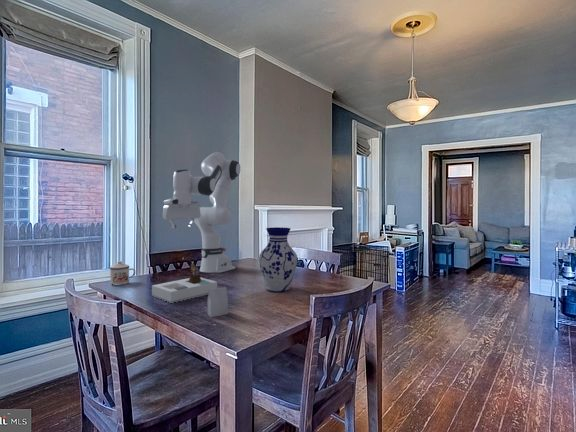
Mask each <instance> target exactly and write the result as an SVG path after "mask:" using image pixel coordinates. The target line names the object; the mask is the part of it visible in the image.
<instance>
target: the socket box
mask: <svg viewBox="0 0 576 432" xmlns="http://www.w3.org/2000/svg"><path fill="white" fill-rule="evenodd" d="M200 278H201V282H200V283H197V284H192V283H189V279H190V278H189V277H188V278H183V279H179V280H173V281H168V282H163V283H158V284H153V285H151V297H152V296H154V297H153V298H155V297H156V298H155V299H157V298H159V299H158V300H160V299H162V300H161V301H163V300H164V301H163V302H165V301H167V302H166V303H168V302H169V303H168V304H170V303H172V304H175V303H174V302H176V303H179V302H178V301H180V302H184V301H186V300H187V299H188V300H190V299H191V298H192V299H194V298H195V297H196V298H199V297H203V296H207V295H208V294H209V289H216V288H218V281H216V280H213V279H208V278H205V277H200ZM183 300H184V301H183Z"/></svg>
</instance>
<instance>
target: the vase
mask: <svg viewBox="0 0 576 432" xmlns="http://www.w3.org/2000/svg"><path fill="white" fill-rule="evenodd" d="M265 230H266V232H267V233H268V236H269V242H268V243H267V245H266V246H265V247H264V248H263V249H262V251H261V252H260V254H259V257H258V263H259V268H260V271H261V275H262V279H263V281H264V283H265V287H266V291H268V292H271V293H285V292H289V290H290V288H291V284H292V283H293V279H294V275H295V272H296V269H297V265H298V260H299V259H298V255H297V253H296V251H295V250H294V249H293V247H291V246H290V243H289V242H288V235H289V233H290V231H291V227H277V226H276V227H265Z"/></svg>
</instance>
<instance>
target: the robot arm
mask: <svg viewBox="0 0 576 432" xmlns="http://www.w3.org/2000/svg"><path fill="white" fill-rule="evenodd" d="M200 168H201V171H202V173H203V174H204V176H193V175H192V174H191V172H190V170H189V169H187V168H185V169H184V168H183V169H176V170H175V171H174V172H173V178H172V179H173V180H172V189H173V192H172V193H173V194H172V197H169V198H168V199H165V200H163V208H162V219H163V220H166V221H167V220H169V222H170V225H171V229H177V224H175V220H186V219H188V220H189V221H190V222H189V223H188V225H187V227H188V228H193V226H194V224H195V225H196V226H197V227H198V229H199V231H200V235H201V248H200V249H201V252H200V253H201V262H200V268H199V272H201V273H217V274H218V273H224V272H228V271H231V270H235V269H236V266H234V265H232V260H231V258H230V257H229V256H227V255H226V254H225V253H224V252H226V251H227V248H226V247H222V246H221V238H222V237H221V235H220V232H218V231H217V230H216V229H215V228H214V226H225V225H228V224H229V223H230V221H231V219H232V213H231V211H230V209H228V207H227V203H228V200H229V196H230V194H231V191H232V187H233V181H234V180H235V179H236V178H237V177H238V176H239V175H240V173H241V164H240V163H239V161H237V160H235V159H233V160H231V159H226V157H225V155H224V154H223V153H222V152H220V151H215V152H212V153H211V154H209V155H208V156H206V157H205V158H204V159H203V160H202V162H201V164H200ZM192 195H193V196H209V202H210V203H211V204H212V206H201V204H200V203H199V201H197V200H192ZM200 206H201V207H200Z"/></svg>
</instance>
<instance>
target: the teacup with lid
mask: <svg viewBox="0 0 576 432" xmlns="http://www.w3.org/2000/svg"><path fill="white" fill-rule="evenodd" d="M109 270H110V273H109V275H110V285H111V284H125V285H127V284H126V283H128V284H130V279H131V278H133V277H134V276H135V275H136V269H134V268H131V267H130V265H129V264H126V263H124V262H123V261H122V260H118V261H117V262H116V263H114V264H113V265H110V267H109ZM130 271H133V274H132V275H131V276H130Z"/></svg>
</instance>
